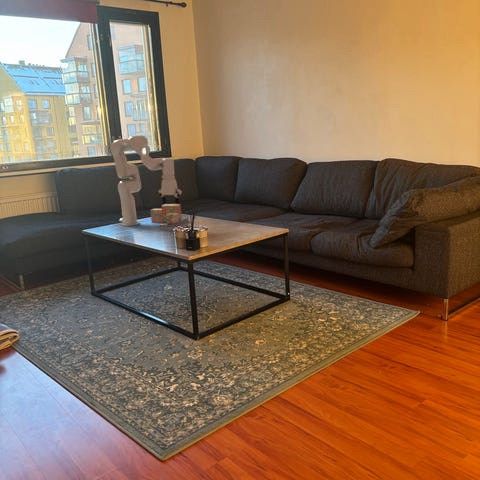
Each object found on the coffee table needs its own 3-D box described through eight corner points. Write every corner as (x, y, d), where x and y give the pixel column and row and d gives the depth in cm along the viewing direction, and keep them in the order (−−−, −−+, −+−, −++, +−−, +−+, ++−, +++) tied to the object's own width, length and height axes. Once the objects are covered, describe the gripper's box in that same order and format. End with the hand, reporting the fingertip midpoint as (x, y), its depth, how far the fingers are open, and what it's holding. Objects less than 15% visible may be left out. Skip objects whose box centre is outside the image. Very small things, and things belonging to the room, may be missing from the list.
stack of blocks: (151, 222, 354) (149, 205, 351) (155, 220, 360) (153, 204, 357) (178, 222, 348) (177, 205, 345) (182, 220, 354) (180, 203, 351)
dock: (158, 230, 324) (157, 222, 323) (171, 225, 338) (170, 217, 337) (176, 230, 318) (176, 222, 317) (188, 225, 333) (188, 217, 331)
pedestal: (167, 225, 326) (166, 214, 325) (171, 223, 332) (170, 212, 330) (174, 225, 324) (173, 214, 322) (179, 223, 329) (178, 213, 328)
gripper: (154, 178, 321) (156, 203, 325) (177, 178, 314) (179, 204, 318) (160, 176, 327) (162, 201, 332) (183, 176, 321) (184, 202, 325)
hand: (170, 203), depth 325 cm, fingers open, 9 cm apart
